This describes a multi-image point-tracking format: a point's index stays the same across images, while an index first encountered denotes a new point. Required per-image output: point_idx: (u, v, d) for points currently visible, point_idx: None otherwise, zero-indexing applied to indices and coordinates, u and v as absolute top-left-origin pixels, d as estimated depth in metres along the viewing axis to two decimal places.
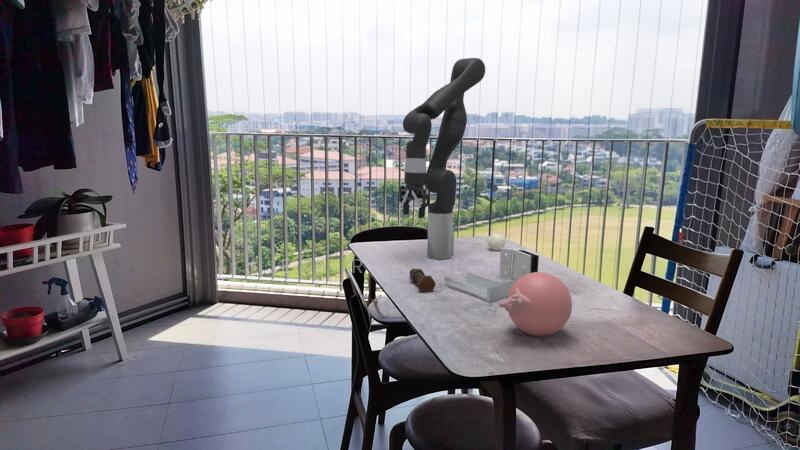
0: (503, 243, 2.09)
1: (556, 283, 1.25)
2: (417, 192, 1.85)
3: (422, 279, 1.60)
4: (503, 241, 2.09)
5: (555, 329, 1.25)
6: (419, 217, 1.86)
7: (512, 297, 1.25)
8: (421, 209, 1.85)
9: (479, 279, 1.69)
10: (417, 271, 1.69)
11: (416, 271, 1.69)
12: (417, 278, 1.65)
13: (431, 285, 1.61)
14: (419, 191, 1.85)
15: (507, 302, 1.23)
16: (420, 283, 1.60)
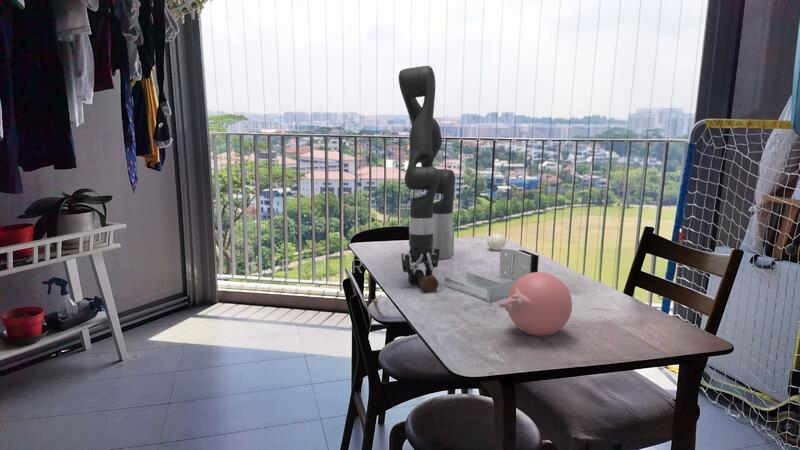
0: (503, 243, 2.09)
1: (556, 283, 1.25)
2: (430, 254, 1.67)
3: (426, 279, 1.59)
4: (503, 241, 2.09)
5: (555, 329, 1.25)
6: None
7: (512, 297, 1.25)
8: (431, 271, 1.69)
9: (479, 279, 1.69)
10: (417, 271, 1.68)
11: (416, 271, 1.68)
12: (419, 278, 1.65)
13: (434, 285, 1.61)
14: (431, 251, 1.67)
15: (507, 302, 1.23)
16: (424, 283, 1.59)
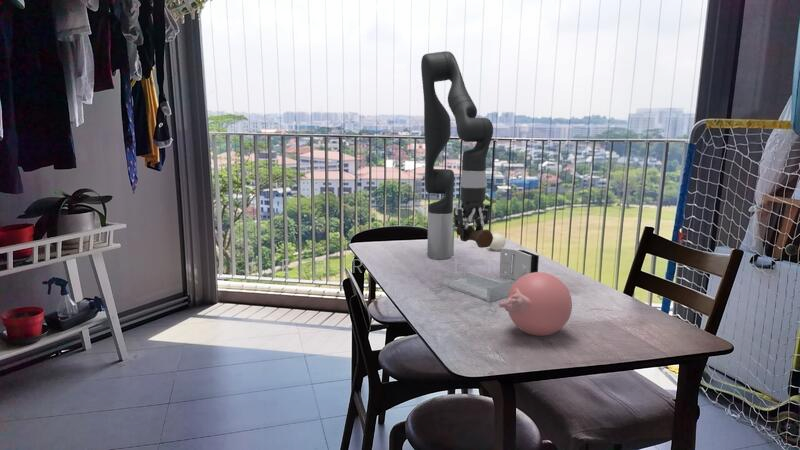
0: (503, 243, 2.09)
1: (556, 283, 1.25)
2: (481, 209, 1.62)
3: (481, 233, 1.55)
4: (503, 241, 2.09)
5: (555, 329, 1.25)
6: None
7: (512, 297, 1.25)
8: (482, 228, 1.64)
9: (479, 279, 1.69)
10: (468, 227, 1.64)
11: None
12: (471, 234, 1.60)
13: (489, 239, 1.56)
14: (483, 207, 1.63)
15: (507, 302, 1.23)
16: (479, 237, 1.55)
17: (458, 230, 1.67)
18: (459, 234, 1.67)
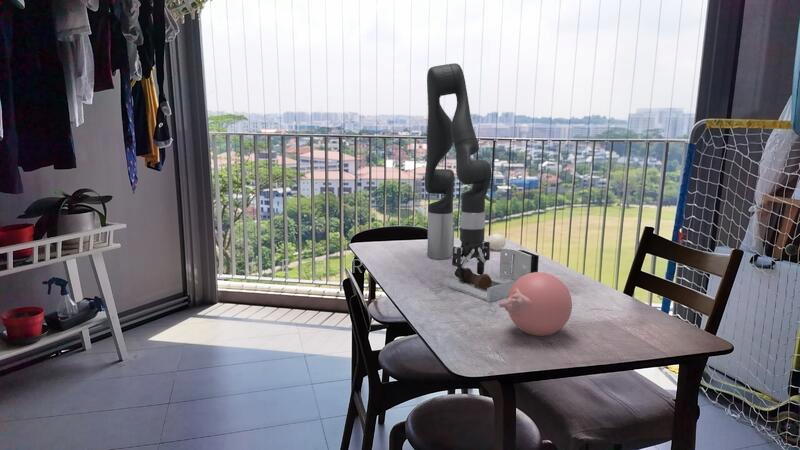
0: (503, 243, 2.09)
1: (556, 283, 1.25)
2: (480, 248, 1.65)
3: (480, 278, 1.58)
4: (503, 241, 2.09)
5: (555, 329, 1.25)
6: None
7: (512, 297, 1.25)
8: (483, 264, 1.67)
9: None
10: (466, 270, 1.67)
11: (465, 270, 1.66)
12: (470, 277, 1.63)
13: (488, 283, 1.59)
14: (482, 246, 1.65)
15: (507, 302, 1.23)
16: (479, 282, 1.58)
17: (456, 272, 1.70)
18: None
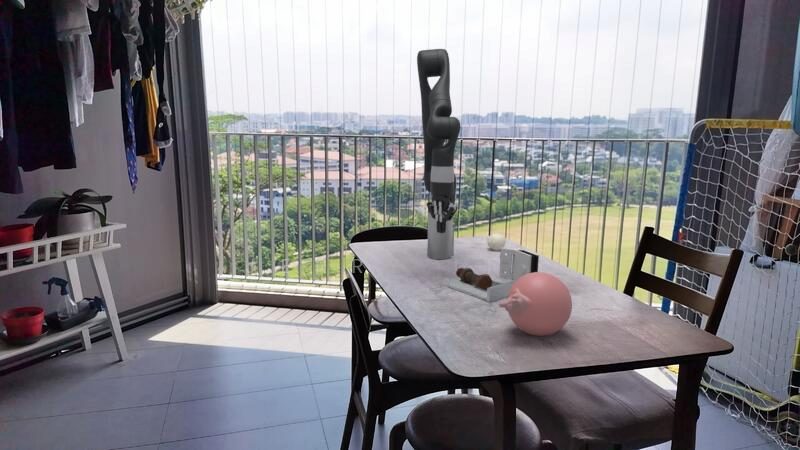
0: (503, 243, 2.09)
1: (556, 283, 1.25)
2: None
3: (481, 278, 1.58)
4: (503, 241, 2.09)
5: (555, 329, 1.25)
6: None
7: (512, 297, 1.25)
8: None
9: None
10: (467, 270, 1.67)
11: (466, 270, 1.66)
12: (471, 277, 1.63)
13: (489, 284, 1.59)
14: None
15: (507, 302, 1.23)
16: (479, 282, 1.57)
17: (458, 272, 1.70)
18: (459, 276, 1.70)
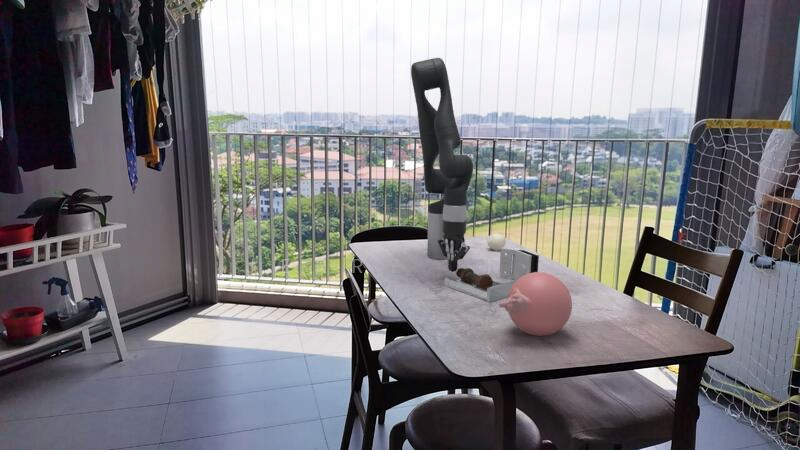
0: (503, 243, 2.09)
1: (556, 283, 1.25)
2: None
3: (481, 278, 1.57)
4: (503, 241, 2.09)
5: (555, 329, 1.25)
6: None
7: (512, 297, 1.25)
8: None
9: None
10: (467, 270, 1.66)
11: (467, 271, 1.66)
12: (471, 278, 1.63)
13: (489, 284, 1.59)
14: None
15: (507, 302, 1.23)
16: (479, 282, 1.57)
17: (458, 272, 1.70)
18: (459, 276, 1.70)
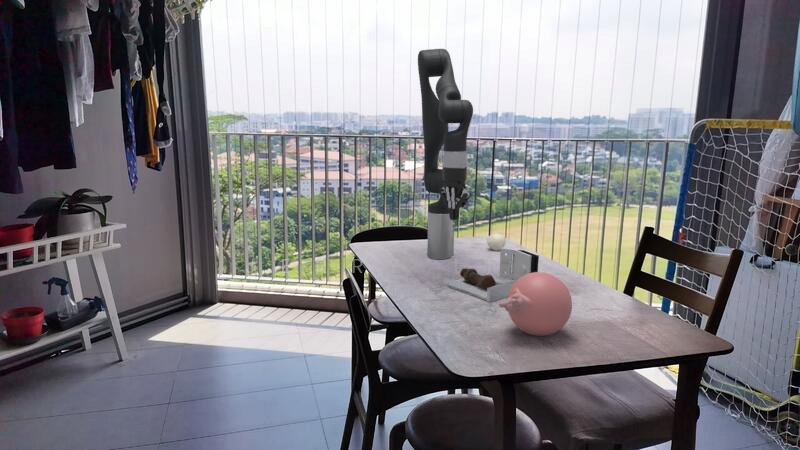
0: (503, 243, 2.09)
1: (556, 283, 1.25)
2: None
3: (484, 279, 1.57)
4: (503, 241, 2.09)
5: (555, 329, 1.25)
6: None
7: (512, 297, 1.25)
8: None
9: None
10: (471, 271, 1.66)
11: (470, 271, 1.66)
12: (474, 278, 1.62)
13: (492, 284, 1.58)
14: None
15: (507, 302, 1.23)
16: (482, 283, 1.57)
17: (462, 273, 1.70)
18: (463, 276, 1.70)
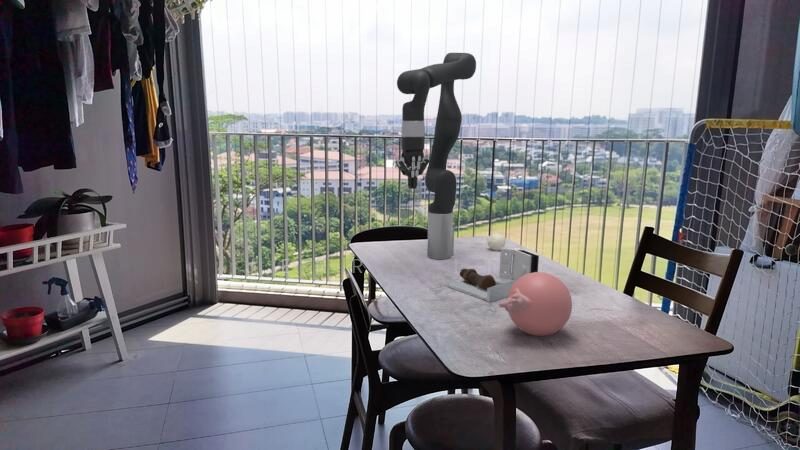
0: (503, 243, 2.09)
1: (556, 283, 1.25)
2: (420, 161, 1.74)
3: (484, 279, 1.57)
4: (503, 241, 2.09)
5: (555, 329, 1.25)
6: None
7: (512, 297, 1.25)
8: (416, 178, 1.74)
9: None
10: (471, 271, 1.66)
11: (470, 271, 1.66)
12: (474, 278, 1.62)
13: (492, 284, 1.58)
14: (422, 157, 1.74)
15: (507, 302, 1.23)
16: (482, 283, 1.57)
17: (461, 273, 1.69)
18: (462, 277, 1.69)
